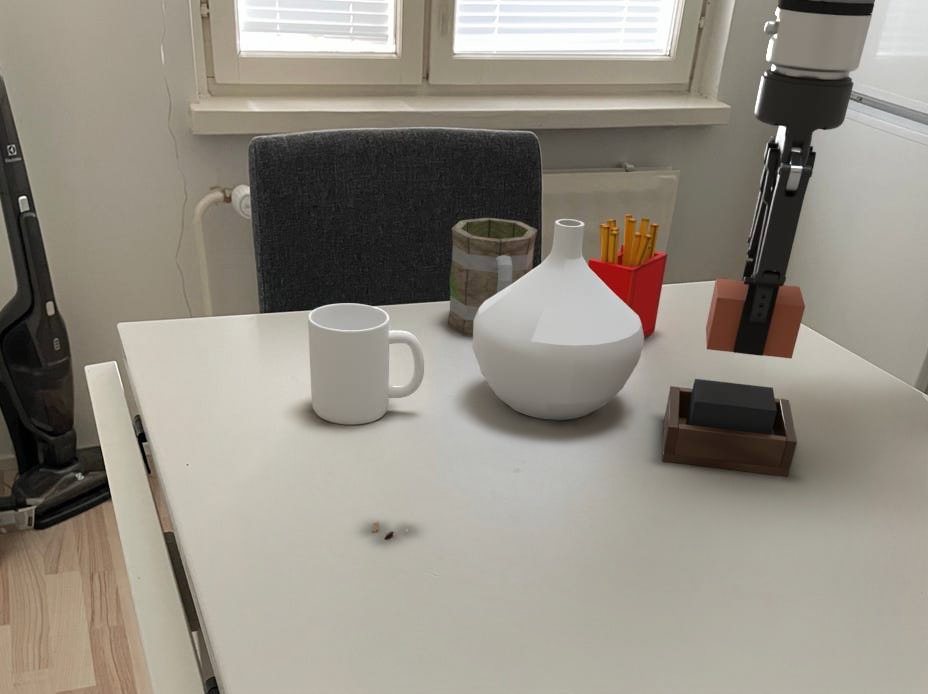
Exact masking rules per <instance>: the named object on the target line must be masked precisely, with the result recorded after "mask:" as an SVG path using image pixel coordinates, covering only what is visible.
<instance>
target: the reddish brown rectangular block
mask: <svg viewBox="0 0 928 694" xmlns="http://www.w3.org/2000/svg"><path fill="white" fill-rule="evenodd" d="M714 281H715V282H714V287H713V291H712V297H711V300H710V301H711V302H710V307H709V312H708V315H707V322H706V326H705V334H706V335H705V336H706V337H705V339H706V341H705V342H706V343H705V344H706V350H708V351H709V350H710V351H719V352H728V353H734V351H733V349H734V345H735V341H736V336H737V332H738V327H739V323H740V318H741V314H742V310H743V305H744V301H745V296H746V292H747V287H748V284H743V281H741V280H736V279H726V278H715V280H714ZM805 309H806V305H805V300H804V297H803V294H802V291H801V288H800V286H799V285H798V286H796V285H787V284H784V285H783V286H780V287H779V291H778V295H777V299H776V303H775V307H774V311H773V315H772V319H771V323H770V328H769V332H768V336H767V340H766V344H765V348H764V352H763V356H764V357H774V358H782V359H784V358H785V359H793V355H794V350H795V347H796V343H797V339H798V336H799V331H800V328H801V324H802V320H803V316H804V312H805ZM763 356H762V357H763Z"/></svg>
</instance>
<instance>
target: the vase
mask: <svg viewBox="0 0 928 694" xmlns="http://www.w3.org/2000/svg"><path fill="white" fill-rule="evenodd" d="M584 231H585V222H584V221H581V220H577V219H572V218H561V219H556V220H555V221H554V230H553V238H552V239H553V240H552V246H551V250H550V253H549V254H548V255H547V257H546V258H545V259H544V260H543V261H542V262H540V264H538V265H537V266H536V267H534V268H533V270H531V271H530V272H528V273H527V274H526V275H524V276H523V277H521V278H520V279H518V280H517V281H516V282H514V283H513V284H511V285H509V286H508V287H506V288H505V289H503V290H502V291H500V292H498V293H497V294H495V295H494V296H492V297H491V298H489V299H487V300H486V301H484V303H483V304H482V305H481V306H480V307H479V309H478V312H477V314H476V316H475V318H474V324H473V337H472V349H473V352H474V355H475V358H476V361H477V364H478V368H479V370H480V373H481V375H482V376H483V378H484V380H485V381H486V383H487V384H488V385H489V387H490V388H491V389H492V391H493V393H494V394H495V395H496V397H498V398H499V399H500V400H501V401H502V402H504V403H505V404H506V405H507V406H508V407H510V408H511V409H513V410H514V411H516V412H518V413H520V414H523V415H526V416H529V417H532V418H536V419H543V420H552V421H553V420H554V421H563V420H573V419H578V418H582V417H585V416H587V415H590V414H591V413H593V412H595V411H597V410H600V409H601V408H602V407H603V406H605V405H606V404H607V403H609V402H610V401H611V400H612V399H613V398H614V397H615V396H616V395H617V394H618V393H620V392H621V391H622V389H623V388H624V387H625V385H626V384H627V382H628V380H629V378H631V375H632V374H633V372H634V370H635V369H636V367H637V365H638V364H639V362H640V359H641V357H642V350H643V345H644V340H645V338H644V334H643V329H642V324H641V321H640V318H639V316H638V315H637V314H636V313H635V312H634V311H633V310H632V309H631V308H630V307H628V306H627V305H626V304H625V303H624V302H623V301H622V300H621V299H620V298H619V297H618V296H617V295H616V294H615V293H614V292H613V291H612V290H611V289H610V288H609V287H608V286H607V285H606V284H605V283H604V282H603V281H602V280H601V279H600V278H599V277H598V276H597V275H596V274H595V273H594V272H593V271H592V270H591V269H590V268H589V267H588V263H587V262H586V260H585V259H584V256H583V250H582V249H583V240H584V239H583V238H584V233H585V232H584Z"/></svg>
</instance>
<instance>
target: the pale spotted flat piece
mask: <svg viewBox="0 0 928 694" xmlns="http://www.w3.org/2000/svg"><path fill="white" fill-rule="evenodd" d="M379 526H380V521H376V522H374V523H372V525H371V532H372V533H377V531H378V529H379ZM407 532H408V529H407V528H406V529H405V530H404V534H407ZM384 534H386V535H385V537H384V539H385V538H388V537H390V536H391V537H392V536H394V531H389V532H388V533H387V531H386V532H384Z"/></svg>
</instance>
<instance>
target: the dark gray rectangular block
mask: <svg viewBox="0 0 928 694" xmlns="http://www.w3.org/2000/svg"><path fill="white" fill-rule="evenodd" d="M692 389H693V390H692V395H691V400H690V405H689V410H688V415H687V420H686V425H693V426H702V427H710V428H718V429H727V430H735V431H743V432H751V433H760V434H768V435H771V432H772V428H773V424H774V420H775V417H776V413H777V409H776V403H775V398H776V397H775V391H774V387H770V386H762V385H754V384H746V383H745V384H744V383H736V382H727V381H718V380H711V379H710V380H709V379H702V378H694V381H693V387H692Z"/></svg>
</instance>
